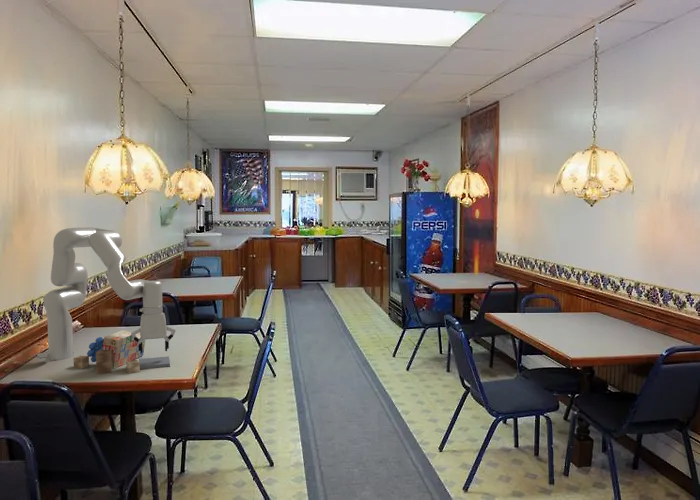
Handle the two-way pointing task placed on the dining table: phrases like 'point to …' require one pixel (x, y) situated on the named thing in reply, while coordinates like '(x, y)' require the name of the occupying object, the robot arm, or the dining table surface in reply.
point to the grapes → (95, 348)
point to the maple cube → (133, 366)
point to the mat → (154, 362)
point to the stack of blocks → (122, 347)
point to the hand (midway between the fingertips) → (154, 351)
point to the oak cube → (81, 361)
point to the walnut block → (104, 361)
